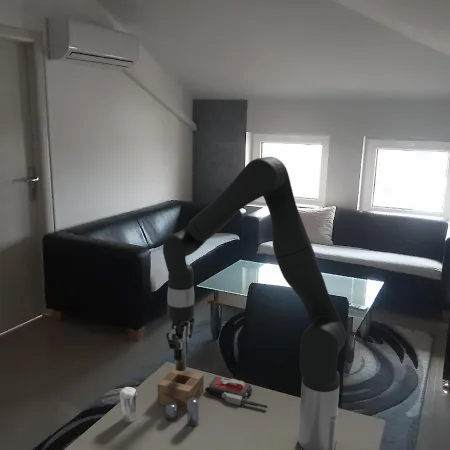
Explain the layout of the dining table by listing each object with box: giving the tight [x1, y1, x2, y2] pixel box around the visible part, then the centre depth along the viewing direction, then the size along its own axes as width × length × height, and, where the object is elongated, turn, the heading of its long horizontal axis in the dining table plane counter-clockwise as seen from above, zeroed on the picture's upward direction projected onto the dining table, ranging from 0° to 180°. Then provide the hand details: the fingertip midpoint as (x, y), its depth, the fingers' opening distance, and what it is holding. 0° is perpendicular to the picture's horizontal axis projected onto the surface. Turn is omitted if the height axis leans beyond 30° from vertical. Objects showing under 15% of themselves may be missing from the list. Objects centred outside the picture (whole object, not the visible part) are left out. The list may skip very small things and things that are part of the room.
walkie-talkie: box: [204, 376, 268, 409], centre depth 144 cm, size 9×4×20 cm
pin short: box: [165, 402, 178, 423], centre depth 133 cm, size 3×3×4 cm
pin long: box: [175, 331, 187, 371], centre depth 140 cm, size 3×3×12 cm
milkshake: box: [119, 386, 138, 424], centre depth 132 cm, size 5×5×10 cm
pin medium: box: [186, 398, 200, 428], centre depth 131 cm, size 3×3×7 cm
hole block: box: [157, 367, 205, 411], centre depth 143 cm, size 10×10×6 cm
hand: (180, 357), depth 141 cm, fingers closed on pin long, 3 cm apart
